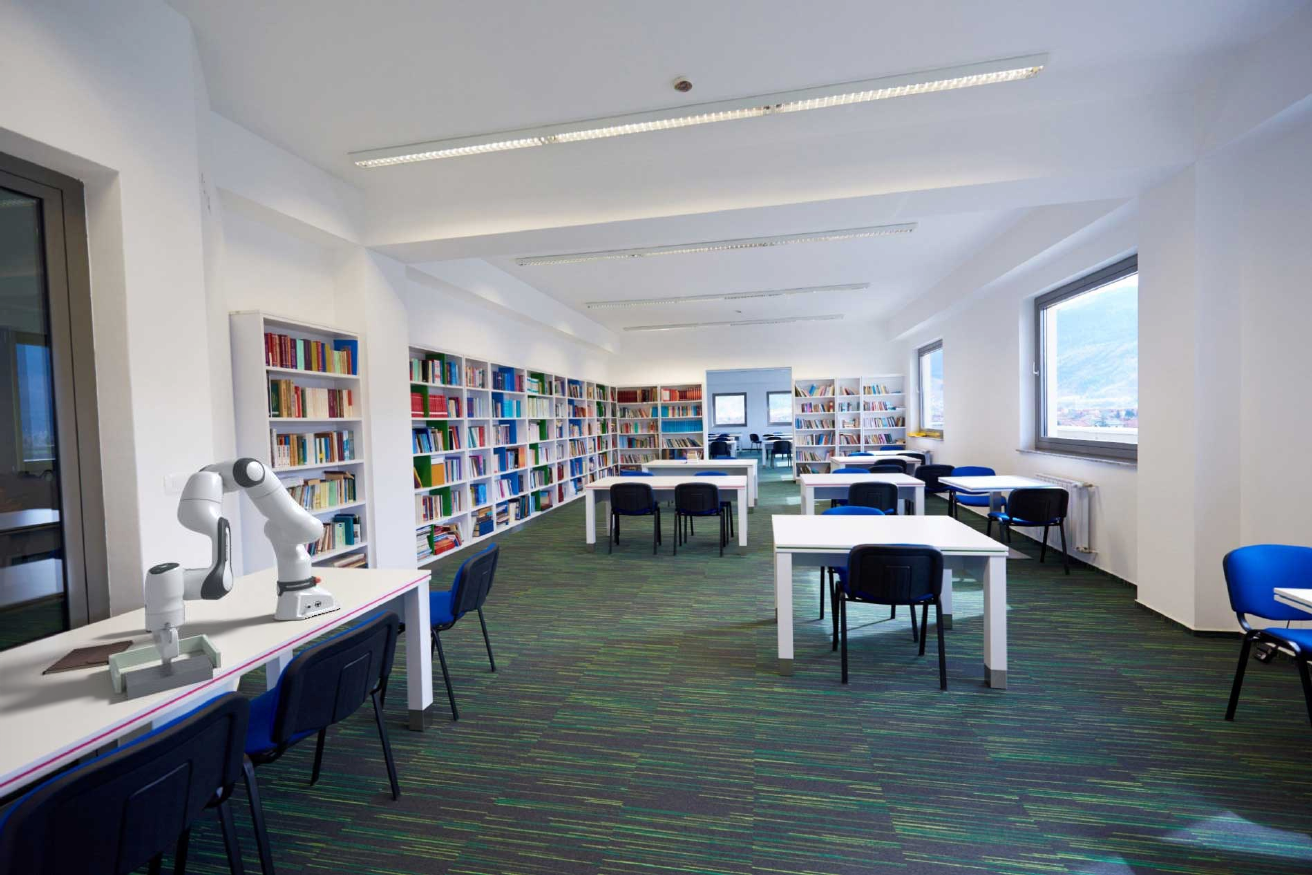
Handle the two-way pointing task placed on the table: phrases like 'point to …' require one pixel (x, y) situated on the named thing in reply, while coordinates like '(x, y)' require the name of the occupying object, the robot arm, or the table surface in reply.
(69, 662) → the notebook
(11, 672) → the table surface
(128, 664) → the sage box
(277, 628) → the table surface
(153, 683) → the cover plate
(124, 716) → the table surface
